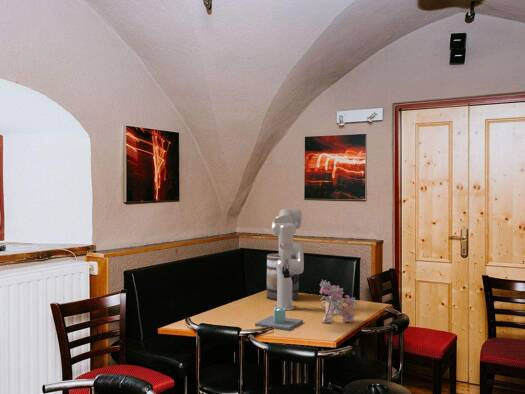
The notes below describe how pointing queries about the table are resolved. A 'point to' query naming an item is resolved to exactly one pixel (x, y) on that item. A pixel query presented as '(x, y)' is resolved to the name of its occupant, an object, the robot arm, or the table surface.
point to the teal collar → (279, 315)
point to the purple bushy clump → (328, 306)
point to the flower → (336, 302)
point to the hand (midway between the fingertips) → (285, 276)
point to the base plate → (286, 326)
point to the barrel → (273, 278)
